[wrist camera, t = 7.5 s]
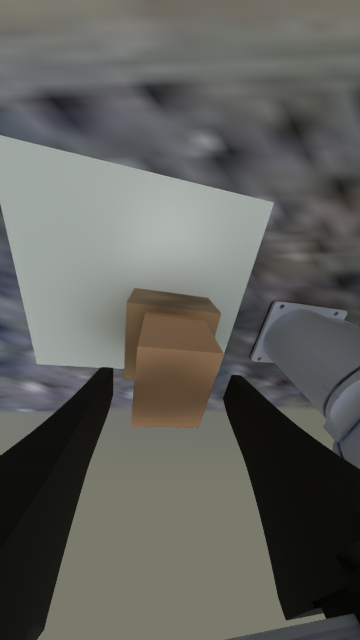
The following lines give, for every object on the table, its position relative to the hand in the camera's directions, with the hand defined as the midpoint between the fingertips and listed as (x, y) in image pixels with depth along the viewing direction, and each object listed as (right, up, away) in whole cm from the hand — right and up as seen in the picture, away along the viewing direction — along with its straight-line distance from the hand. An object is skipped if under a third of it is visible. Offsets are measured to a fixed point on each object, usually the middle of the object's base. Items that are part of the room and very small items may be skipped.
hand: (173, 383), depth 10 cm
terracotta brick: (0, +2, +3) cm, 4 cm away
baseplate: (-3, +7, +6) cm, 10 cm away
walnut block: (-1, +3, +7) cm, 8 cm away
